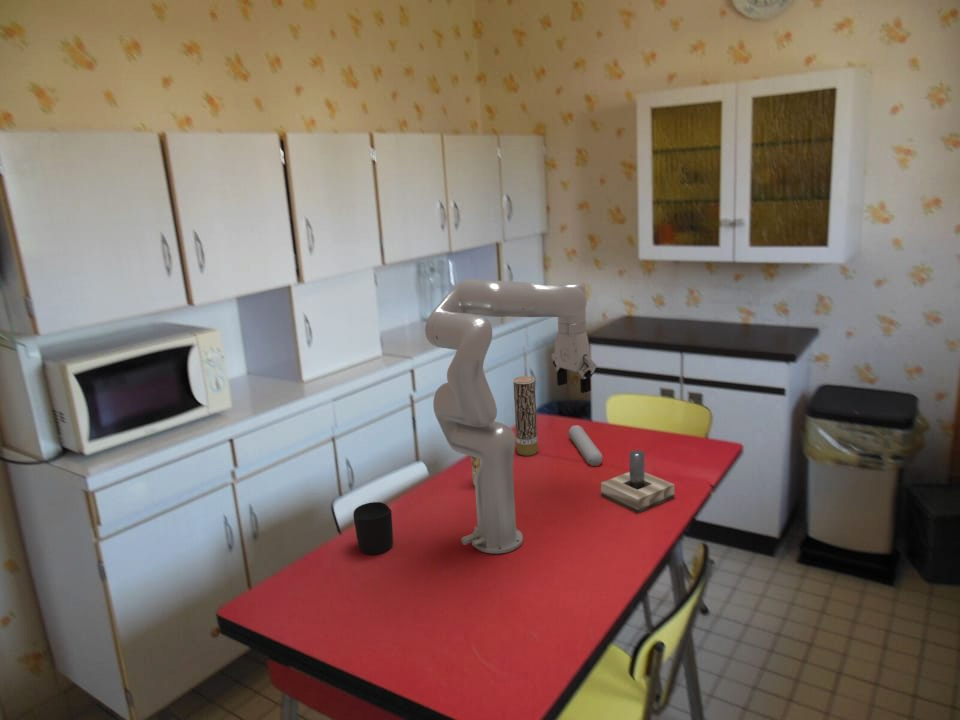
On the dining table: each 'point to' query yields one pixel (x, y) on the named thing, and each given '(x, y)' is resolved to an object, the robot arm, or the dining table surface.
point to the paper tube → (525, 415)
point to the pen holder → (373, 528)
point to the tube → (585, 445)
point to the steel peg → (637, 469)
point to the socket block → (637, 492)
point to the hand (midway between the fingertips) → (573, 388)
